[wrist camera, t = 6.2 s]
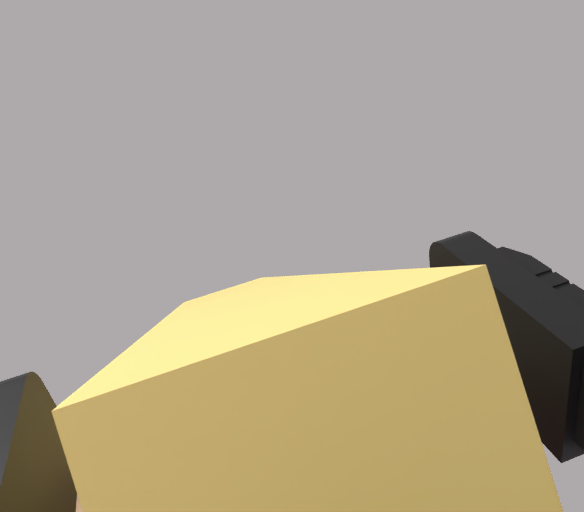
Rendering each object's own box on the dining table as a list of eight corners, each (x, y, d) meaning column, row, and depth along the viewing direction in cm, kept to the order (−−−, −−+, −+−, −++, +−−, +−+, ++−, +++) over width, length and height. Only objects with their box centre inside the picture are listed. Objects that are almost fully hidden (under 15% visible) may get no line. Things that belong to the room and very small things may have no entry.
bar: (284, 353, 24) (261, 277, 24) (613, 672, 4) (486, 265, 4) (208, 379, 24) (184, 302, 24) (198, 878, 4) (51, 410, 4)
